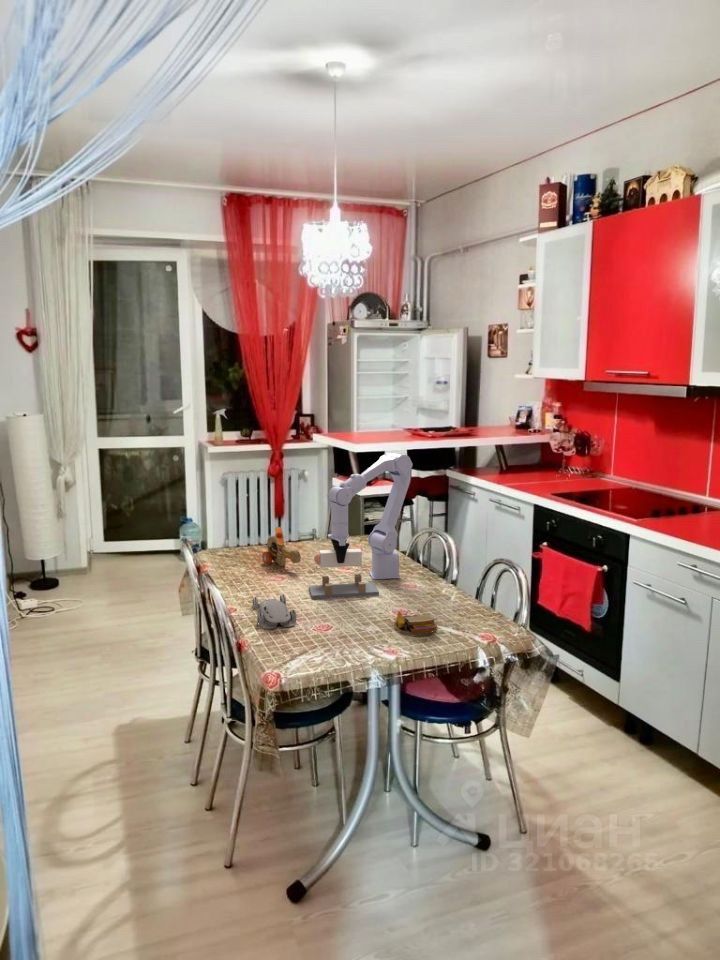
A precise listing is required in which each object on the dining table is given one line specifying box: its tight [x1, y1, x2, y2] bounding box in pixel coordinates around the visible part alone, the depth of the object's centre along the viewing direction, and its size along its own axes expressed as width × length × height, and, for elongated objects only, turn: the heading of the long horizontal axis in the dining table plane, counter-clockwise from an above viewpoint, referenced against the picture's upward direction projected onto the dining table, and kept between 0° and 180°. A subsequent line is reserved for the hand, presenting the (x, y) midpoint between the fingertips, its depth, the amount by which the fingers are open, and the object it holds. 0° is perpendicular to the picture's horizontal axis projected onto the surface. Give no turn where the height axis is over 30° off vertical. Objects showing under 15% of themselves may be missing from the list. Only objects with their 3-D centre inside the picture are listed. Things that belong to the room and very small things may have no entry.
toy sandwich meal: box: [393, 610, 438, 636], centre depth 208 cm, size 12×14×5 cm
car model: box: [252, 593, 298, 630], centre depth 218 cm, size 11×24×5 cm, turn 16°
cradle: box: [308, 573, 380, 600], centre depth 239 cm, size 22×10×4 cm, turn 99°
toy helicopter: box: [261, 526, 301, 567], centre depth 267 cm, size 8×21×14 cm, turn 38°
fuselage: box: [313, 548, 363, 569], centre depth 245 cm, size 16×4×5 cm, turn 99°
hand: (339, 560), depth 246 cm, fingers closed on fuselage, 4 cm apart
